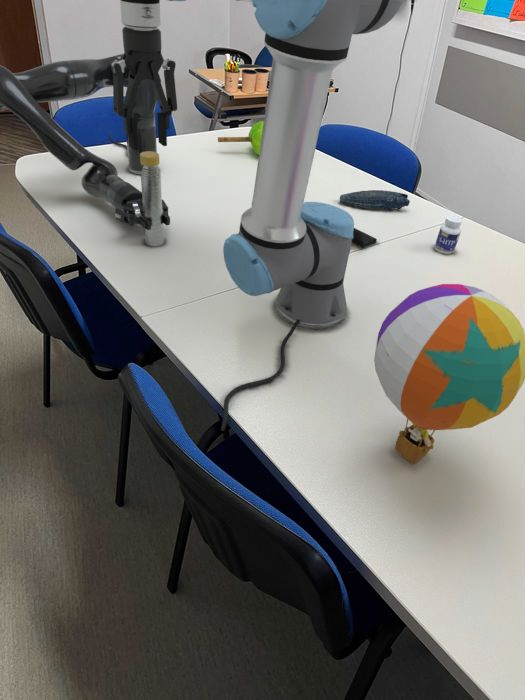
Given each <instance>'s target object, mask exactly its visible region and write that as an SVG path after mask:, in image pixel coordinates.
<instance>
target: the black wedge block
mask: <svg viewBox="0 0 525 700" xmlns="http://www.w3.org/2000/svg"><path fill="white" fill-rule="evenodd" d="M377 240H378V238H376V237H374V236H372V235H370V234H368V233H366V232H364V231H362V230H359V229H358V228H355V227H354V230H353V239H352V242H351V244H354V245H356V246H359V247H360V248H363V249H364V248H366V247H368V246H371V245H373V244H375V243H377Z"/></svg>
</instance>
